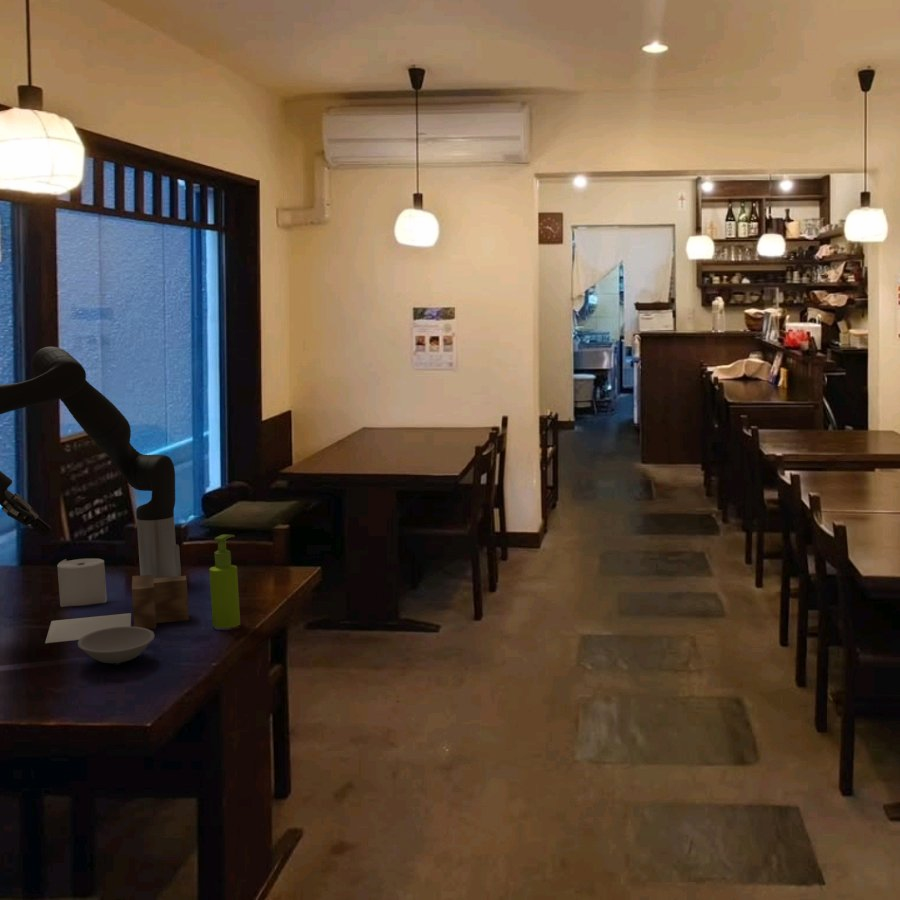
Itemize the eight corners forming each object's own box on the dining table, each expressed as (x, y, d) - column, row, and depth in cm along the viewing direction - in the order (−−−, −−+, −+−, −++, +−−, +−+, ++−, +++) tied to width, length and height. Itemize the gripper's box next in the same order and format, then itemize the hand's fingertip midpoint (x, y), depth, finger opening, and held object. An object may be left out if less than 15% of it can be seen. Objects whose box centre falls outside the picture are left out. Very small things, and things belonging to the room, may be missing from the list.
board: (45, 647, 224) (44, 643, 223) (52, 625, 241) (51, 620, 241) (193, 632, 232) (193, 627, 232) (190, 611, 249) (189, 607, 249)
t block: (134, 630, 231) (131, 589, 230) (135, 615, 244) (132, 576, 242) (189, 625, 234) (187, 584, 233) (187, 610, 247) (185, 571, 245)
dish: (158, 671, 206) (157, 646, 205) (79, 681, 201) (77, 655, 201) (153, 646, 222) (151, 622, 222) (79, 655, 218) (77, 631, 217)
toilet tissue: (92, 610, 253) (89, 568, 252) (46, 609, 255) (42, 567, 254) (115, 598, 263) (112, 558, 262) (70, 597, 266) (67, 557, 264)
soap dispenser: (247, 622, 238) (242, 533, 236) (231, 631, 232) (226, 539, 229) (224, 620, 240) (219, 532, 238) (207, 629, 234) (202, 538, 231)
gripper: (-26, 489, 235) (39, 540, 239) (-35, 498, 222) (33, 551, 227) (-1, 463, 235) (62, 514, 240) (-9, 471, 223) (58, 524, 227)
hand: (48, 532), depth 233 cm, fingers closed
